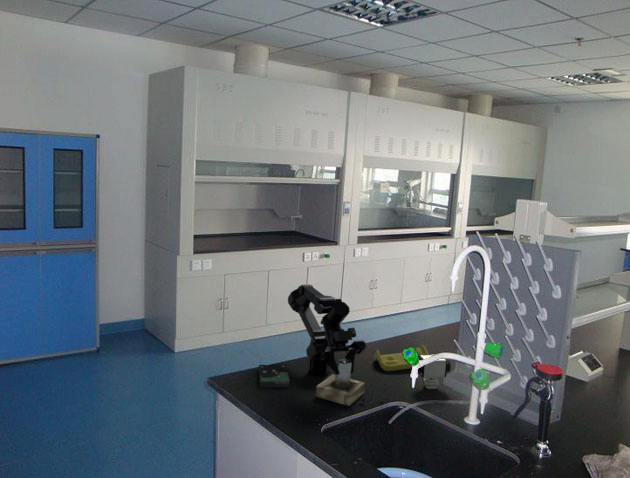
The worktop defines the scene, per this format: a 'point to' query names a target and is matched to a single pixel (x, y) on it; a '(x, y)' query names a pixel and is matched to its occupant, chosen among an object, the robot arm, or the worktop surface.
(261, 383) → the disk drive
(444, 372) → the pneumatic valve
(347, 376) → the bushing
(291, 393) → the worktop surface
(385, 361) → the plastic component
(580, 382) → the worktop surface
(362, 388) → the square wooden tray
